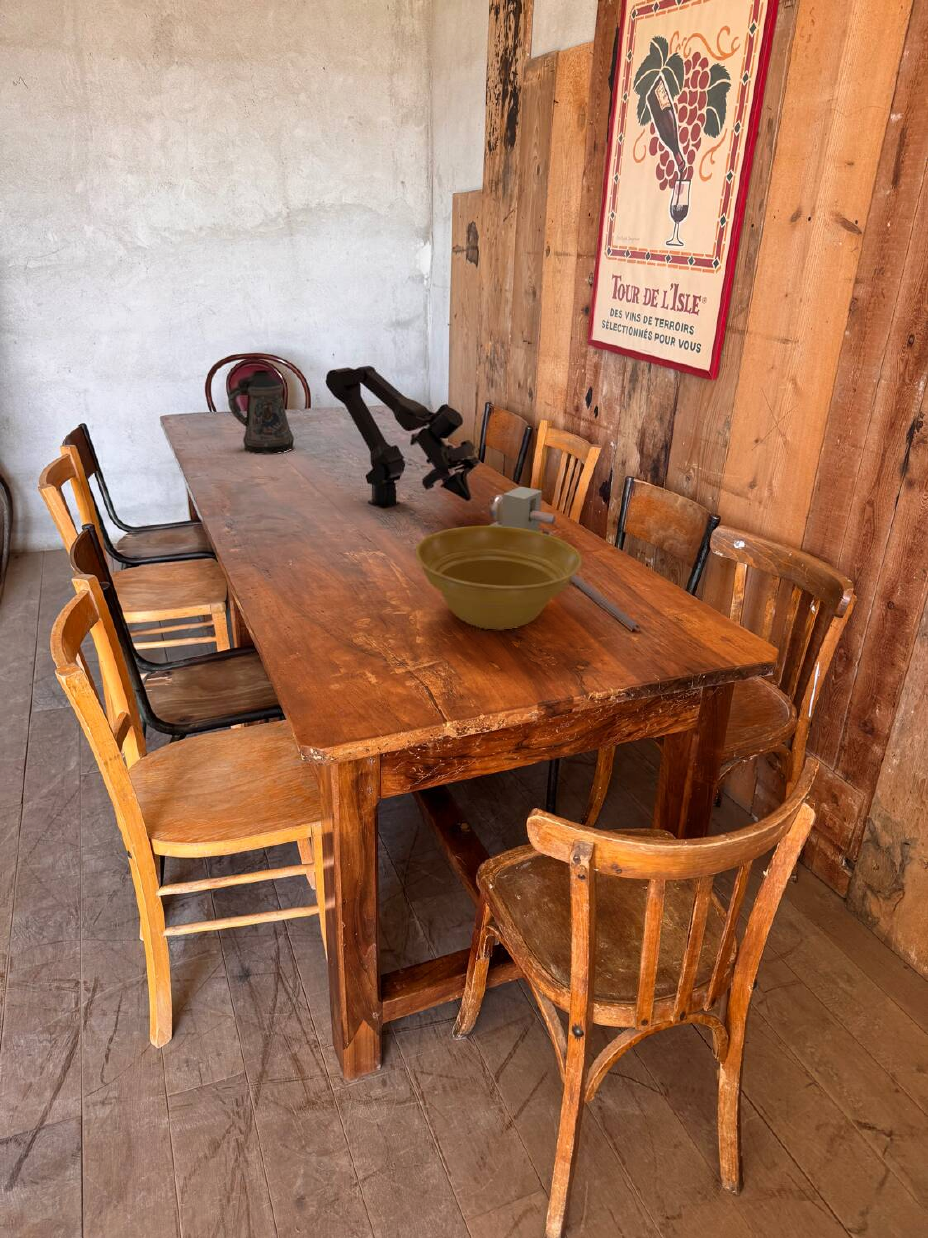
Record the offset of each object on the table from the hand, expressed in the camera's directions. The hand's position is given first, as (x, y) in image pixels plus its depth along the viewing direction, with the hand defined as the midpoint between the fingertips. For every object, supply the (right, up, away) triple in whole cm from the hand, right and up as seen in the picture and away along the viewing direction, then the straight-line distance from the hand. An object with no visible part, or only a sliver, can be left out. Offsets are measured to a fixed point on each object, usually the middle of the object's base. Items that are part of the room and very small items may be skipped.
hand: (469, 499), depth 214 cm
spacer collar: (+9, -6, -4) cm, 12 cm away
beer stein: (-67, +26, +66) cm, 98 cm away
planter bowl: (+5, -30, -47) cm, 56 cm away
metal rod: (+27, -28, -40) cm, 56 cm away
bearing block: (+12, -10, -5) cm, 17 cm away
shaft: (+13, -7, -6) cm, 16 cm away
